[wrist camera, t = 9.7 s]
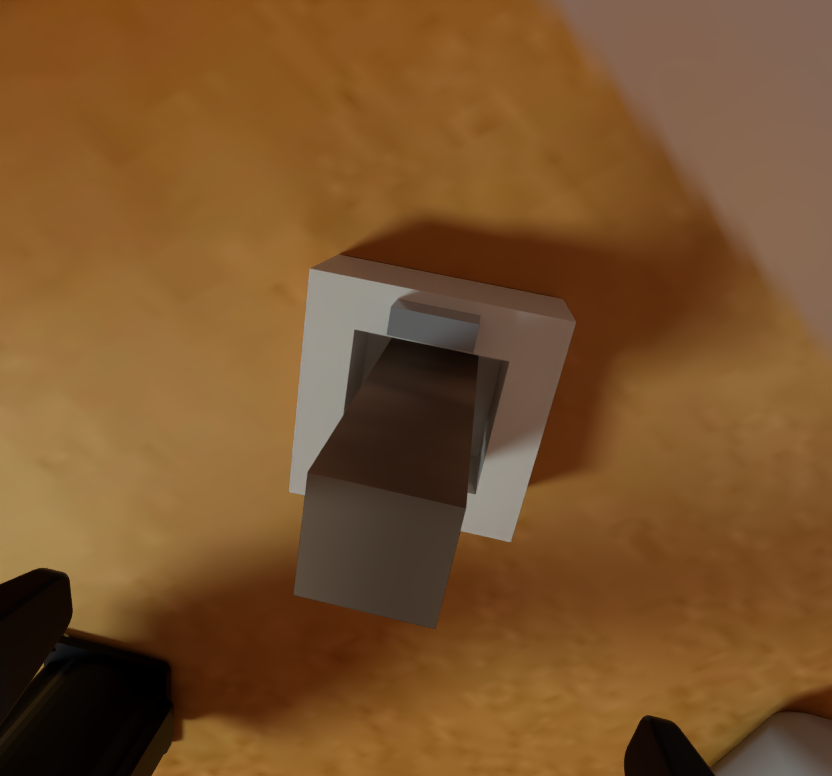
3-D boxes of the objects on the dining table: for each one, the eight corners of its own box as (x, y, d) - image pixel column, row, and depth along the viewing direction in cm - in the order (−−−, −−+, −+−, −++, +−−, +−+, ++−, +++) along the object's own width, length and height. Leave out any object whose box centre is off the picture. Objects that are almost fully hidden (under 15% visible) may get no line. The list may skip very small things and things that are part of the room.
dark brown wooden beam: (379, 415, 19) (293, 594, 11) (392, 337, 18) (307, 472, 10) (460, 433, 19) (435, 629, 11) (478, 355, 18) (466, 508, 10)
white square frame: (315, 450, 21) (277, 508, 17) (338, 254, 18) (297, 274, 14) (508, 492, 20) (511, 562, 17) (563, 299, 17) (581, 331, 14)
